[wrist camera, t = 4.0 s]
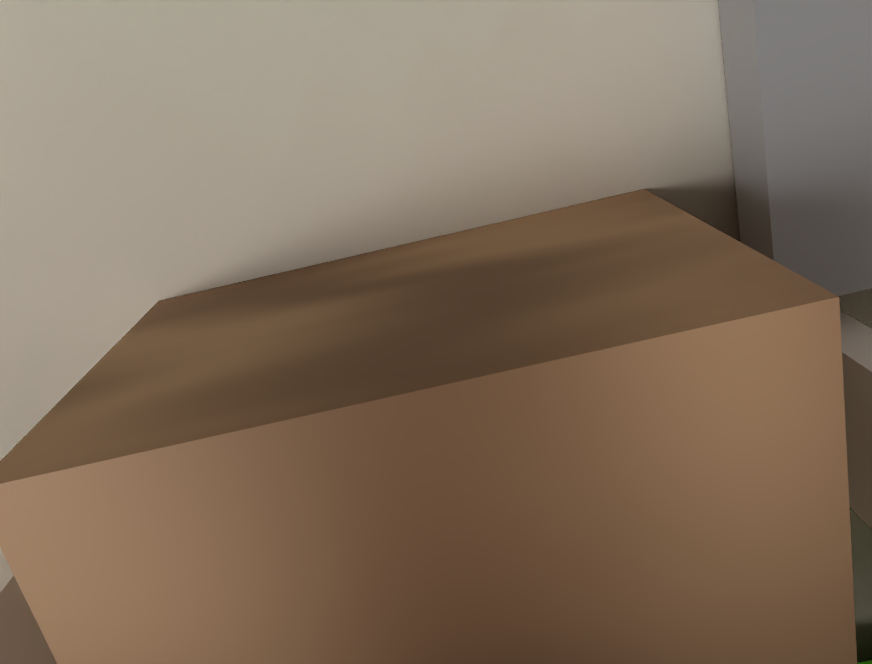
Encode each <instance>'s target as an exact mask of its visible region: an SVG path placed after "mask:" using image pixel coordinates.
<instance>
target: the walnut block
mask: <svg viewBox="0 0 872 664" xmlns="http://www.w3.org/2000/svg"><path fill="white" fill-rule="evenodd" d="M0 548H1V550H2V552H3V554H4V556H5V558H6V561H7V563H8V565H9V567H10V569H11V571H12V573H13V575H14V577H15V579H16V581H17V583H18V585H19V587H20V589H21V591H22V593H23V595H24V597H25V599H26V601H27V603H28V605H29V607H30V609H31V611H32V613H33V615H34V617H35V619H36V621H37V623H38V625H39V627H40V630H41V632H42V634H43V636H44V638H45V640H46V642H47V644H48V646H49V648H50V650H51V652H52V654H53V656H54V658H55V660H56V662H57V664H857V648H856V628H855V608H854V588H853V567H852V547H851V527H850V506H849V486H848V466H847V445H846V425H845V405H844V384H843V364H842V344H841V323H840V303H839V296H837V295H835V294H833V293H831V292H830V291H828V290H826V289H824V288H822V287H821V286H819V285H817V284H815V283H813V282H812V281H810V280H808V279H806V278H804V277H803V276H801V275H799V274H797V273H795V272H793V271H792V270H790V269H788V268H786V267H784V266H783V265H781V264H779V263H777V262H775V261H774V260H772V259H770V258H768V257H766V256H765V255H763V254H761V253H759V252H757V251H756V250H754V249H752V248H750V247H748V246H746V245H745V244H743V243H741V242H739V241H737V240H736V239H734V238H732V237H730V236H728V235H727V234H725V233H723V232H721V231H719V230H718V229H716V228H714V227H712V226H710V225H709V224H707V223H705V222H703V221H701V220H699V219H698V218H696V217H694V216H692V215H690V214H689V213H687V212H685V211H683V210H681V209H680V208H678V207H676V206H674V205H672V204H671V203H669V202H667V201H665V200H663V199H661V198H660V197H658V196H656V195H654V194H652V193H651V192H649V191H647V190H645V189H642V190H638V191H633V192H629V193H625V194H620V195H616V196H612V197H607V198H603V199H599V200H594V201H590V202H586V203H581V204H577V205H573V206H568V207H564V208H560V209H555V210H551V211H547V212H542V213H538V214H534V215H529V216H525V217H521V218H516V219H512V220H508V221H503V222H499V223H495V224H490V225H486V226H482V227H477V228H473V229H469V230H464V231H460V232H456V233H451V234H447V235H443V236H438V237H434V238H430V239H425V240H421V241H417V242H412V243H408V244H404V245H399V246H395V247H391V248H386V249H382V250H378V251H373V252H369V253H364V254H360V255H356V256H351V257H347V258H343V259H338V260H334V261H330V262H325V263H321V264H317V265H312V266H308V267H304V268H299V269H295V270H291V271H286V272H282V273H278V274H273V275H269V276H265V277H260V278H256V279H252V280H247V281H243V282H239V283H234V284H230V285H226V286H221V287H217V288H213V289H208V290H204V291H200V292H195V293H191V294H187V295H182V296H178V297H174V298H169V299H165V300H161V301H158V302H157V303H156V304H155V305H154V306H153V307H152V308H151V309H150V310H149V311H148V312H147V313H146V314H145V315H144V317H143V318H142V319H141V320H140V321H139V322H138V323H137V324H136V325H135V326H134V327H133V328H132V329H131V330H130V331H129V332H128V333H127V334H126V335H125V336H124V337H123V338H122V339H121V340H120V341H119V342H118V343H117V344H116V345H115V346H114V347H113V348H112V349H111V350H110V351H109V352H108V353H107V354H106V355H105V356H104V357H103V358H102V359H101V360H100V361H99V362H98V363H97V364H96V365H95V366H94V367H93V368H92V369H91V370H90V371H89V372H88V373H87V374H86V375H85V376H84V377H83V378H82V379H81V380H80V381H79V382H78V383H77V384H76V385H75V386H74V387H73V388H72V389H71V390H70V391H69V392H68V393H67V394H66V395H65V396H64V397H63V398H62V399H61V400H60V401H59V402H58V403H57V404H56V406H55V407H54V408H53V409H52V410H51V411H50V412H49V413H48V414H47V415H46V416H45V417H44V418H43V419H42V420H41V421H40V422H39V423H38V424H37V425H36V426H35V427H34V428H33V429H32V430H31V431H30V432H29V433H28V434H27V435H26V436H25V437H24V438H23V439H22V440H21V441H20V442H19V443H18V444H17V445H16V446H15V447H14V448H13V449H12V450H11V451H10V452H9V453H8V454H7V455H6V456H5V457H4V458H3V459H2V460H1V461H0Z"/></svg>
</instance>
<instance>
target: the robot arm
mask: <svg viewBox="0 0 872 664" xmlns="http://www.w3.org/2000/svg"><path fill="white" fill-rule="evenodd" d="M840 323H841V344H842V364H843V384H844V405H845V425H846V445H847V466H848V486H849V506H850V508H851V509H852V510H853V511H854V512H855V513H856V514H857V515H858V516H859V517H860V518H861V519H862V520H863V521H864V522H865V523H866V524H867V525H868V526H869V527H870V528H871V529H872V328H870V327H868V326H866V325H865V324H863V323H861V322H860V321H858V320H856V319H854V318H853V317H851V316H849V315H847V314H846V313H844V312H842V311H841V310H840ZM0 664H57V662H56V660H55V658H54V656H53V654H52V652H51V650H50V648H49V646H48V644H47V642H46V640H45V638H44V636H43V634H42V632H41V630H40V627H39V625H38V623H37V621H36V619H35V617H34V615H33V613H32V611H31V609H30V607H29V605H28V603H27V601H26V599H25V597H24V595H23V593H22V591H21V589H20V587H19V585H18V583H17V581H16V579H15V577H14V575H13V573H12V571H11V569H10V567H9V565H8V563H7V561H6V558H5V556H4V554H3V552H2V550H1V548H0Z"/></svg>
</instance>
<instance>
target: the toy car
mask: <svg viewBox="0 0 872 664" xmlns="http://www.w3.org/2000/svg"><path fill="white" fill-rule="evenodd" d="M857 664H872V660H870V661H865V662H860V663H857Z"/></svg>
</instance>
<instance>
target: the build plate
mask: <svg viewBox="0 0 872 664" xmlns="http://www.w3.org/2000/svg"><path fill="white" fill-rule="evenodd" d="M718 8H719V18H720V29H721V40H722V50H723V61H724V72H725V82H726V93H727V104H728V114H729V125H730V136H731V146H732V157H733V168H734V178H735V189H736V200H737V210H738V221H739V232H740V242H741V243H743V244H745V245H746V246H748V247H750V248H752V249H754V250H756V251H757V252H759V253H761V254H763V255H765V256H766V257H768V258H770V259H772V260H774V261H775V262H777V263H779V264H781V265H783V266H784V267H786V268H788V269H790V270H792V271H793V272H795V273H797V274H799V275H801V276H803V277H804V278H806V279H808V280H810V281H812V282H813V283H815V284H817V285H819V286H821V287H822V288H824V289H826V290H828V291H830V292H831V293H833V294H835V295H837V296H842V295H846V294H851V293H855V292H859V291H864V290H868V289H872V0H718Z"/></svg>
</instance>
